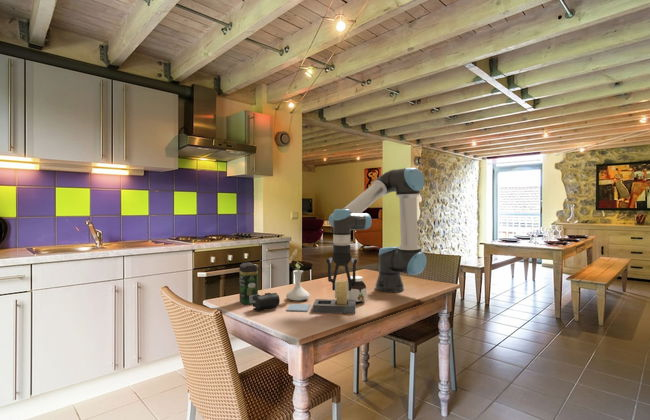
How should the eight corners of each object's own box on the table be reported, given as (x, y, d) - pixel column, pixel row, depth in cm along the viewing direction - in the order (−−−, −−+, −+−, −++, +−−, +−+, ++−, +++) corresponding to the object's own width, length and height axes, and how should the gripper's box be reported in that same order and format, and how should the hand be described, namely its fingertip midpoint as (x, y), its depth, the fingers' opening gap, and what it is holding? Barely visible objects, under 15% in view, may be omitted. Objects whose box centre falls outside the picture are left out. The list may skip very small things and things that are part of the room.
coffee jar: (237, 301, 165) (237, 262, 165) (253, 299, 169) (253, 260, 169) (243, 306, 157) (243, 265, 157) (260, 303, 161) (260, 263, 161)
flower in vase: (290, 295, 175) (290, 246, 175) (312, 297, 173) (312, 246, 173) (282, 302, 162) (282, 249, 162) (305, 304, 160) (305, 250, 160)
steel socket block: (355, 306, 156) (355, 300, 156) (355, 313, 146) (355, 306, 146) (315, 305, 158) (315, 299, 158) (312, 312, 148) (312, 305, 148)
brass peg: (347, 307, 154) (347, 280, 154) (346, 310, 149) (346, 282, 149) (337, 306, 154) (337, 279, 154) (336, 309, 150) (336, 282, 150)
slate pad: (310, 305, 158) (310, 304, 158) (307, 311, 149) (307, 310, 149) (290, 305, 158) (290, 303, 158) (286, 311, 150) (286, 309, 150)
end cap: (259, 313, 146) (259, 297, 146) (251, 310, 151) (251, 294, 151) (279, 309, 153) (279, 293, 152) (271, 305, 158) (271, 290, 158)
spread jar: (347, 304, 160) (348, 279, 160) (340, 298, 171) (340, 274, 171) (372, 302, 163) (372, 278, 163) (363, 296, 174) (363, 273, 174)
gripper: (320, 245, 149) (321, 299, 149) (362, 245, 147) (362, 300, 147) (322, 243, 156) (322, 295, 156) (361, 243, 154) (361, 296, 155)
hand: (341, 297), depth 152 cm, fingers closed on brass peg, 4 cm apart
